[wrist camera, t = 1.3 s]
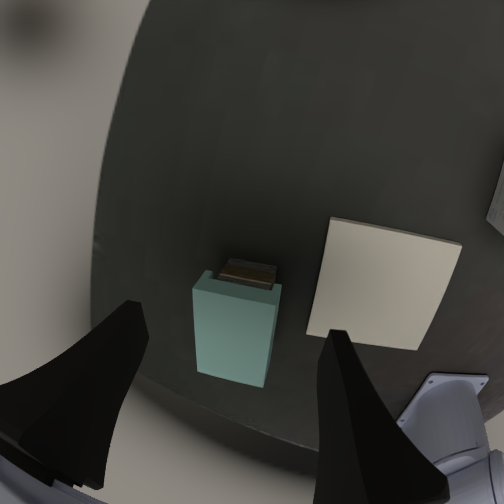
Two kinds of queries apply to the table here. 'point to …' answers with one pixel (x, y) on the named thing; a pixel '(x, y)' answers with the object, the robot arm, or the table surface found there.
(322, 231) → the table surface
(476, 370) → the table surface
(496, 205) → the light bulb box
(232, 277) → the grey and brown box
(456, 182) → the table surface
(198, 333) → the lid
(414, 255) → the mat
